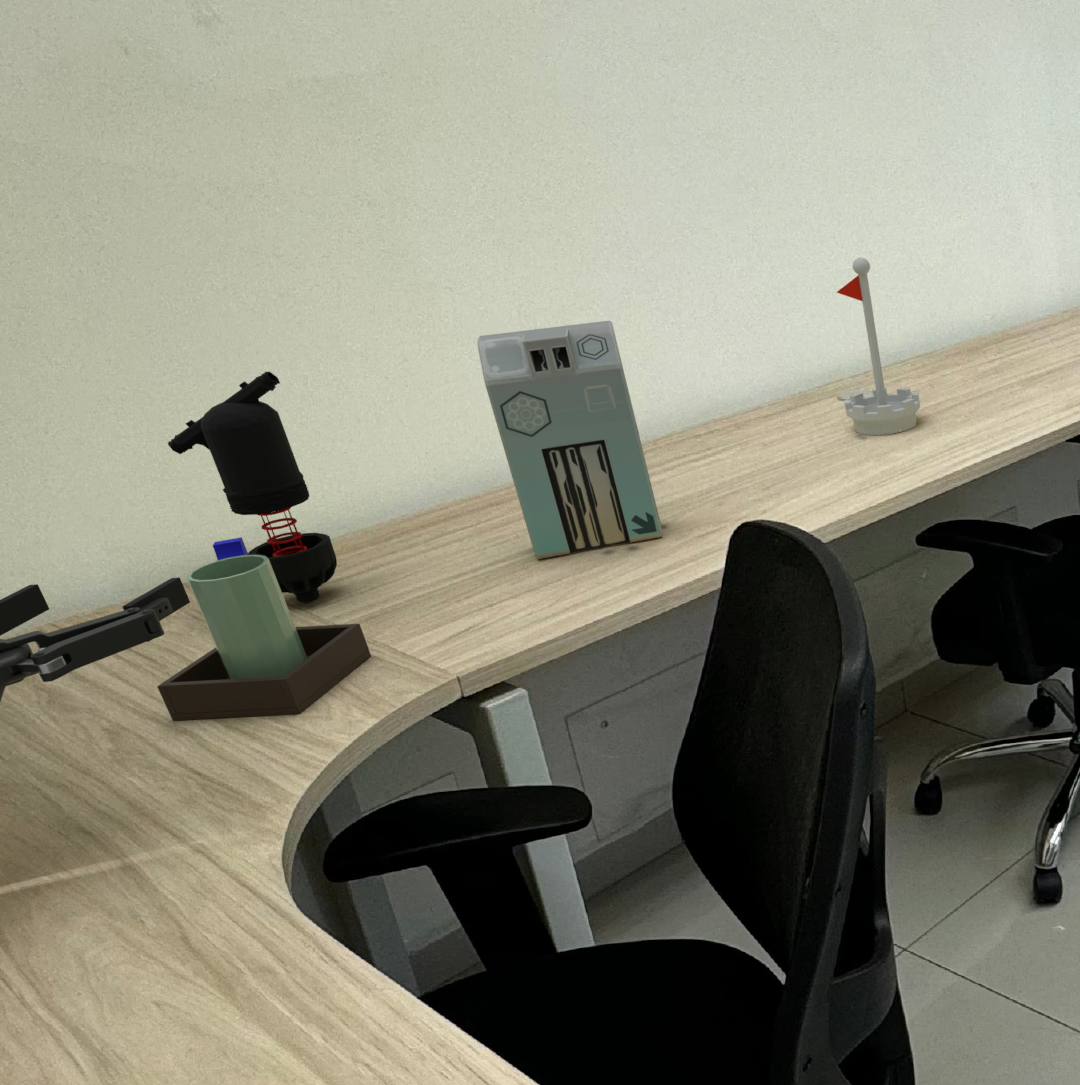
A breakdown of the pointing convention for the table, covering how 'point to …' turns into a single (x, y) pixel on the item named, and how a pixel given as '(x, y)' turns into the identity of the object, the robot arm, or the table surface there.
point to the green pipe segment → (247, 617)
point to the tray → (266, 679)
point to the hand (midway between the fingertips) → (110, 593)
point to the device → (570, 437)
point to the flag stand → (877, 375)
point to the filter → (263, 482)
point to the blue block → (229, 548)
